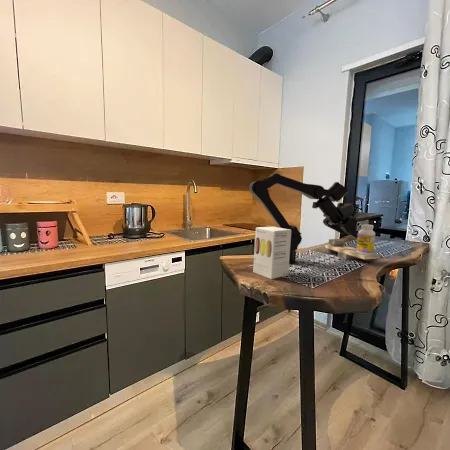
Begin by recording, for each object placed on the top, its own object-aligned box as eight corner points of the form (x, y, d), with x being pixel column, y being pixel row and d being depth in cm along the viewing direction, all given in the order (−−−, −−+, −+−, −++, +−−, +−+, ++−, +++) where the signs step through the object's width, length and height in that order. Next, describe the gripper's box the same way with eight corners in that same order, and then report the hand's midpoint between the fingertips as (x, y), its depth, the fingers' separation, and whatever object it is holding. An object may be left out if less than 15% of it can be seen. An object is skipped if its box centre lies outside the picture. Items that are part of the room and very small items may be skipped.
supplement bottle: (352, 252, 115) (355, 224, 114) (362, 251, 118) (365, 223, 117) (366, 255, 109) (369, 226, 108) (376, 254, 112) (379, 225, 111)
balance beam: (380, 263, 112) (381, 248, 111) (362, 265, 109) (364, 249, 108) (339, 251, 135) (340, 238, 134) (324, 252, 131) (325, 239, 131)
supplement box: (252, 272, 94) (254, 227, 92) (269, 268, 100) (271, 225, 98) (271, 279, 87) (274, 230, 85) (289, 275, 92) (292, 229, 90)
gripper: (356, 196, 100) (378, 225, 103) (331, 196, 119) (351, 220, 121) (335, 216, 100) (358, 244, 103) (314, 212, 119) (334, 236, 121)
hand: (350, 235), depth 112 cm, fingers open, 9 cm apart
